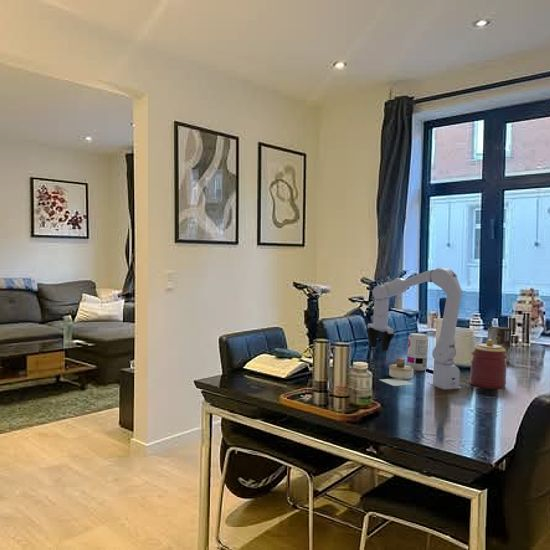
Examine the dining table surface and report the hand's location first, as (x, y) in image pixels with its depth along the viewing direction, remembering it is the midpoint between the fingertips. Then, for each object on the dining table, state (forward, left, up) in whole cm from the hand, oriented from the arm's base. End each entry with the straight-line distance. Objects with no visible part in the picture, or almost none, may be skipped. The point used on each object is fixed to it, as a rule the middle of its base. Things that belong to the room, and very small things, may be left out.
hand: (379, 348), depth 212 cm
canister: (-25, -33, -11) cm, 43 cm away
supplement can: (+5, -23, -11) cm, 26 cm away
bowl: (-6, -7, -11) cm, 14 cm away
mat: (-14, +1, -10) cm, 17 cm away
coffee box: (+12, -76, -11) cm, 78 cm away
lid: (-6, -6, -7) cm, 11 cm away
